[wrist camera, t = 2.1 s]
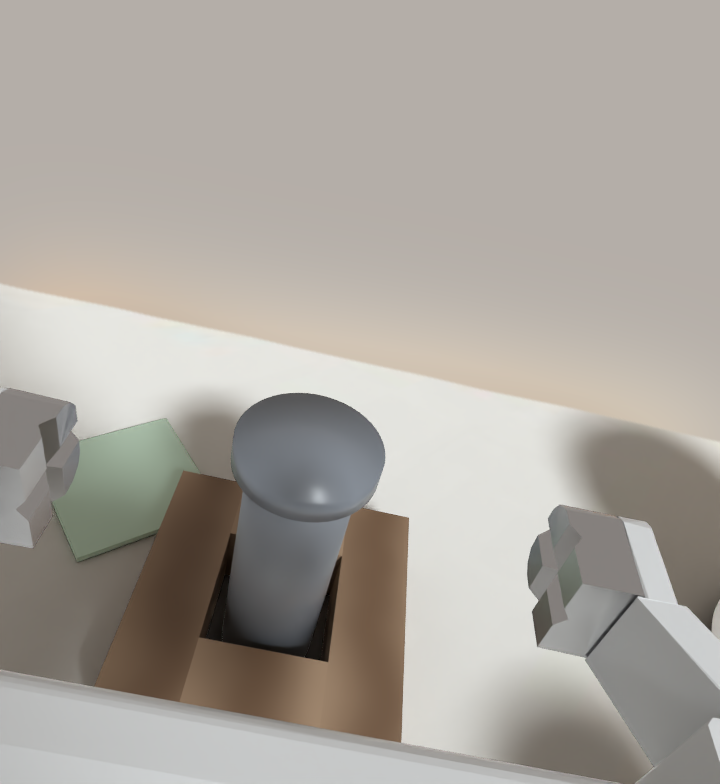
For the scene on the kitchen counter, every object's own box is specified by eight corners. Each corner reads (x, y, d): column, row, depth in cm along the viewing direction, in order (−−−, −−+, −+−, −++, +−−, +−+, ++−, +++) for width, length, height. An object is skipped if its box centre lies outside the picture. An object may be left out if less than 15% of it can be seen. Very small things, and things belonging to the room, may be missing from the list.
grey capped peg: (189, 611, 37) (206, 414, 27) (287, 568, 40) (332, 379, 31) (241, 712, 33) (282, 525, 24) (344, 655, 37) (414, 472, 27)
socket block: (92, 739, 31) (88, 700, 28) (180, 513, 42) (183, 470, 39) (380, 791, 32) (400, 758, 29) (393, 556, 43) (408, 517, 40)
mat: (32, 457, 43) (32, 453, 42) (165, 422, 48) (165, 417, 47) (77, 562, 38) (76, 558, 37) (220, 510, 43) (221, 506, 42)
